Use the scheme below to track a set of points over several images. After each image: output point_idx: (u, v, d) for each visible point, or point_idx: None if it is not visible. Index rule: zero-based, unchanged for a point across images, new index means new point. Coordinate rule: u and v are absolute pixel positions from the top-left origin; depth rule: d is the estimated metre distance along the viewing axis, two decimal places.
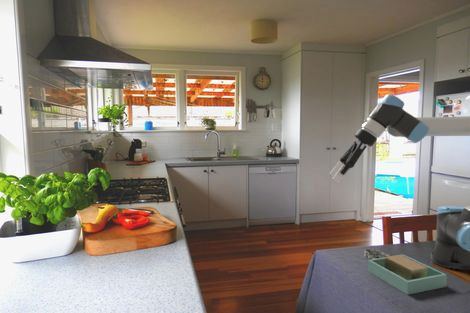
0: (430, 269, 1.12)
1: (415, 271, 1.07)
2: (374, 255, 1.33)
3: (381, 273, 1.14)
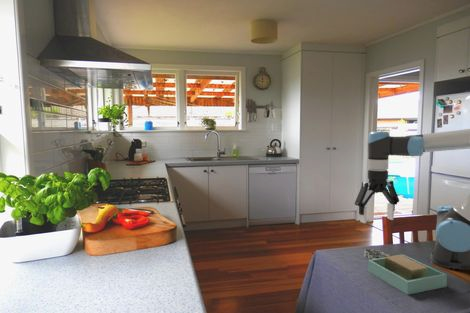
0: (430, 269, 1.12)
1: (415, 271, 1.07)
2: (374, 255, 1.32)
3: (381, 273, 1.14)
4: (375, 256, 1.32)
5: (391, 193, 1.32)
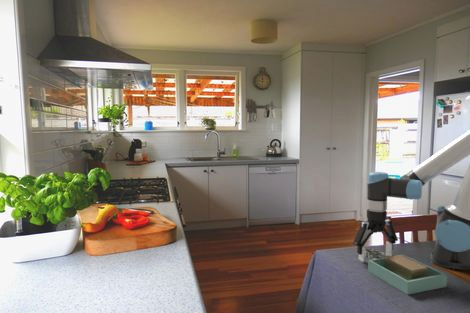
0: (430, 269, 1.12)
1: (415, 271, 1.07)
2: (374, 255, 1.32)
3: (381, 273, 1.14)
4: (375, 256, 1.32)
5: (390, 232, 1.34)
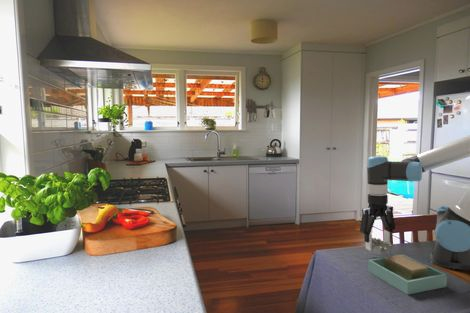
0: (430, 269, 1.12)
1: (415, 271, 1.07)
2: (376, 244, 1.32)
3: (381, 273, 1.14)
4: (377, 245, 1.32)
5: (389, 219, 1.32)
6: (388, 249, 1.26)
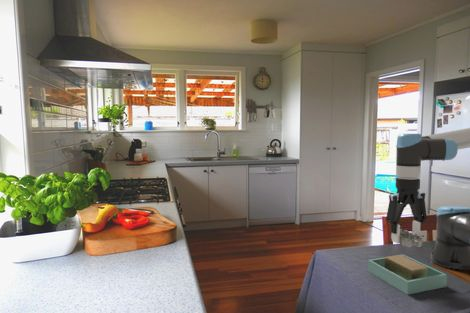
0: (430, 269, 1.12)
1: (415, 271, 1.07)
2: (403, 236, 1.13)
3: (381, 273, 1.14)
4: (404, 237, 1.13)
5: (419, 208, 1.14)
6: (419, 242, 1.08)
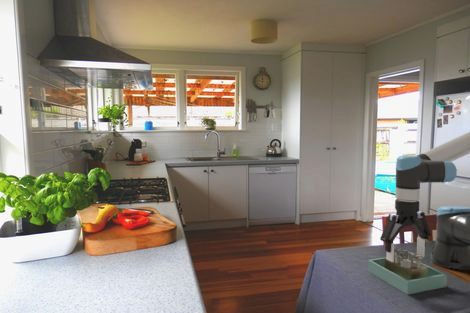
0: (430, 269, 1.12)
1: (415, 271, 1.07)
2: (402, 256, 1.14)
3: (381, 273, 1.14)
4: (403, 257, 1.14)
5: (422, 226, 1.15)
6: (418, 263, 1.08)
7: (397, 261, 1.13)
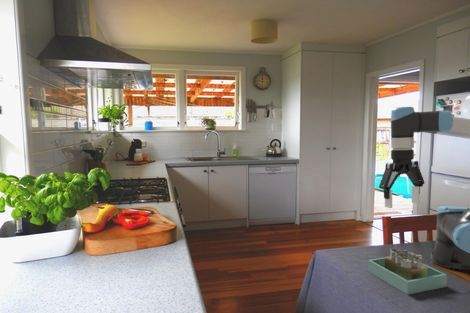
0: (430, 269, 1.12)
1: (415, 271, 1.07)
2: (402, 256, 1.14)
3: (381, 273, 1.14)
4: (403, 257, 1.14)
5: (415, 175, 1.21)
6: (418, 263, 1.08)
7: (397, 262, 1.12)
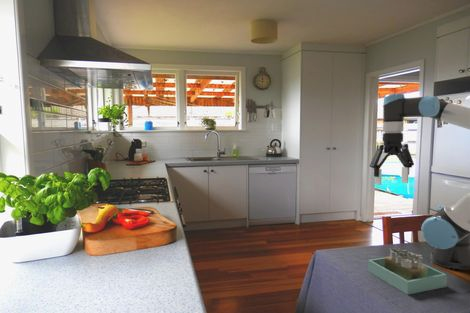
0: (430, 269, 1.12)
1: (415, 271, 1.07)
2: (402, 256, 1.14)
3: (381, 273, 1.14)
4: (404, 257, 1.14)
5: (406, 157, 1.33)
6: (419, 263, 1.08)
7: (397, 262, 1.12)
